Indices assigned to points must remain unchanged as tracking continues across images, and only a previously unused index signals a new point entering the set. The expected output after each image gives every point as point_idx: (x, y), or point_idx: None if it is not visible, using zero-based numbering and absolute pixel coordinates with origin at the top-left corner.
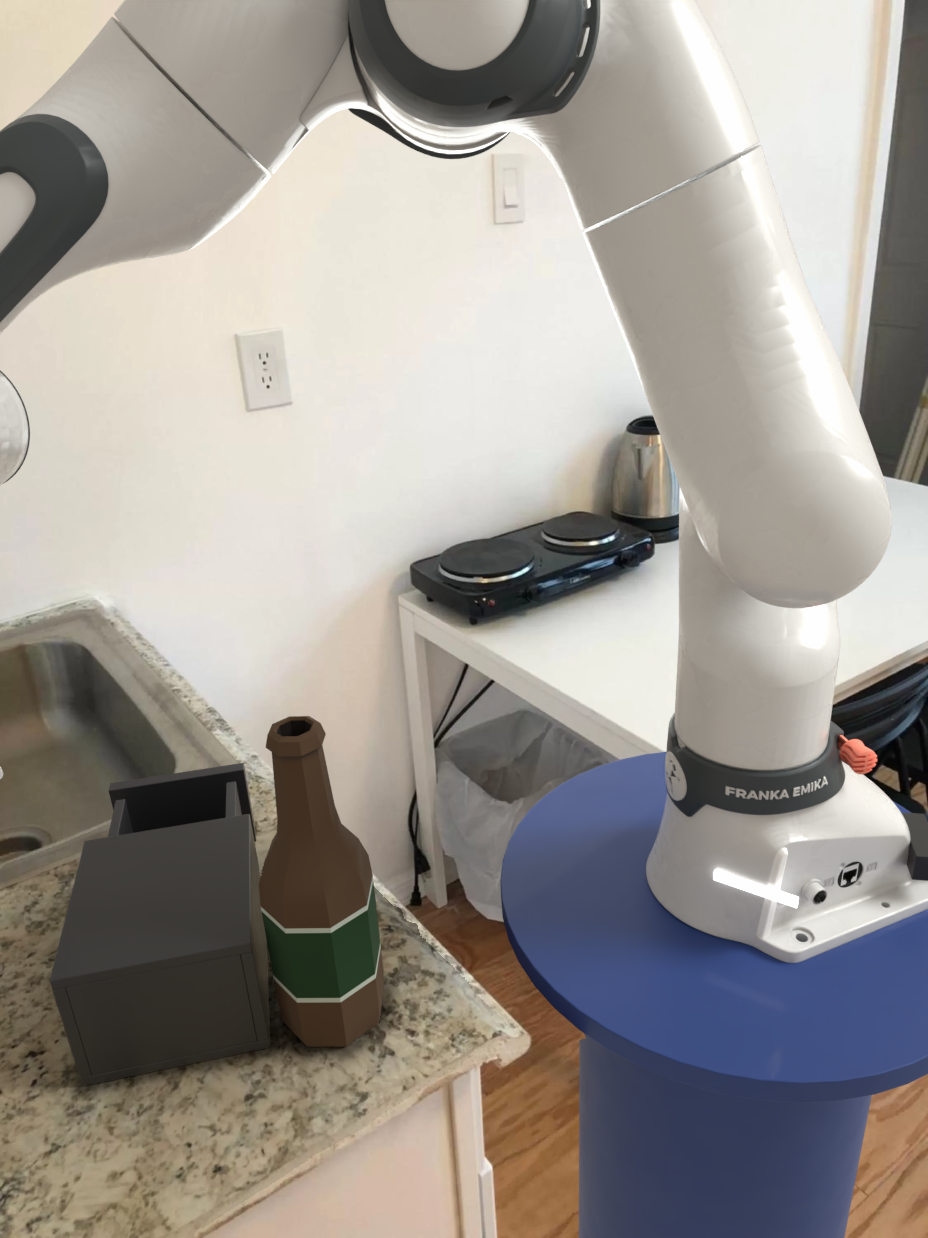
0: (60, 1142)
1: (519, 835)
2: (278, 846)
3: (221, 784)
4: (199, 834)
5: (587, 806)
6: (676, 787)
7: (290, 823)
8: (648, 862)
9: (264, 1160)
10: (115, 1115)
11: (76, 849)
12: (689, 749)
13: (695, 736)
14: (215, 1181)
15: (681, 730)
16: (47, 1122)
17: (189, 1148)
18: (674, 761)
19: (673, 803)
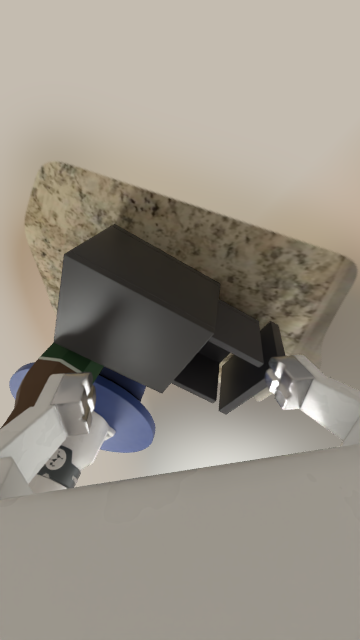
0: (84, 199)
1: (135, 410)
2: (27, 403)
3: (227, 396)
4: (161, 373)
5: (135, 426)
6: (53, 454)
7: (4, 423)
8: (95, 415)
9: (42, 269)
10: (88, 230)
11: (332, 306)
12: (39, 474)
13: (31, 482)
14: (38, 250)
15: (41, 482)
16: (100, 197)
17: (57, 249)
18: (49, 466)
19: (65, 445)
